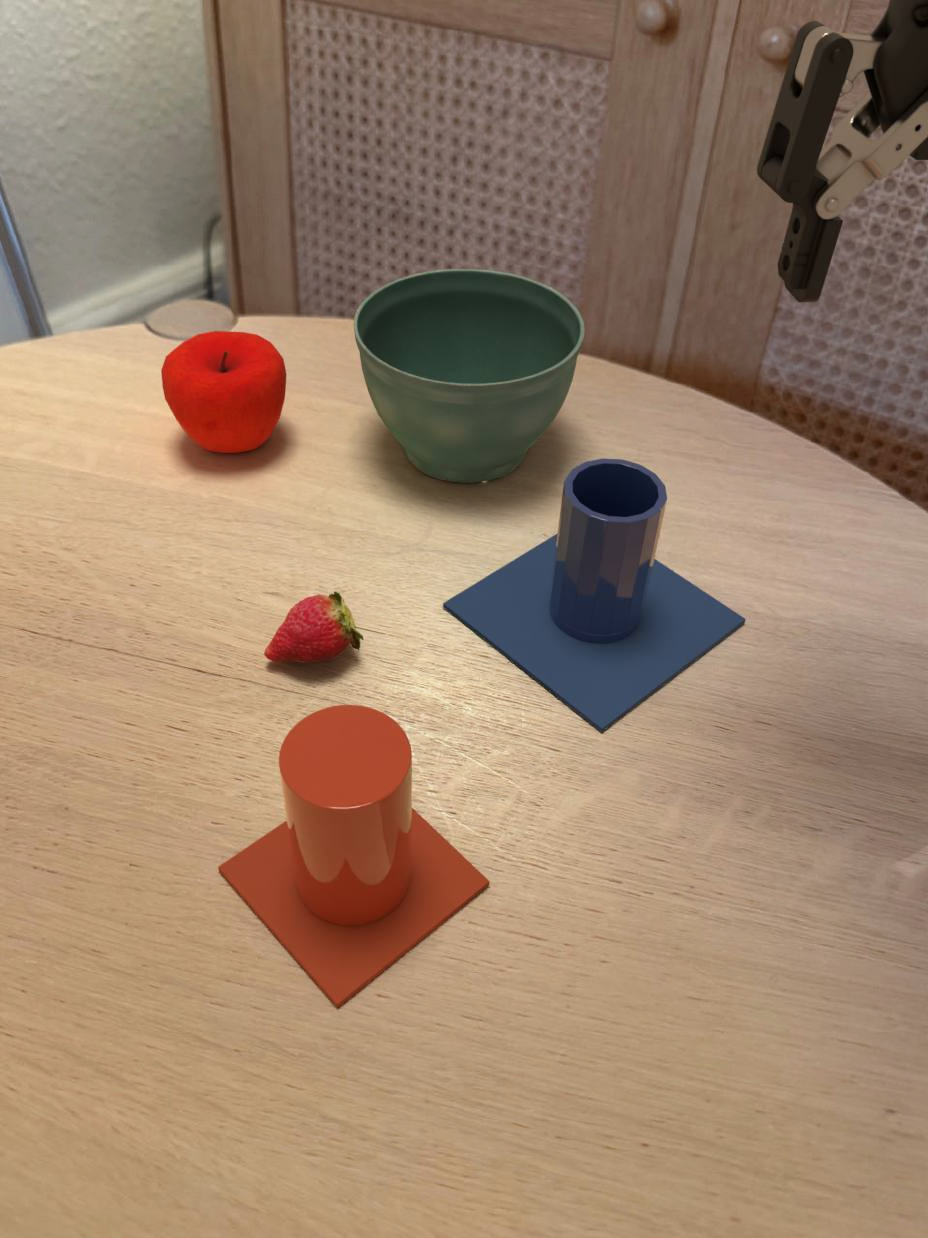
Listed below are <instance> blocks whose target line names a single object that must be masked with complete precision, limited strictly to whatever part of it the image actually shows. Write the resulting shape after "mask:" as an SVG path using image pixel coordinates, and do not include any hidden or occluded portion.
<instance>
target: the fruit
mask: <svg viewBox="0 0 928 1238" xmlns="http://www.w3.org/2000/svg"><path fill="white" fill-rule="evenodd" d="M361 641H364V635H362V634H361V632H360V631H359V630H358V629H357V626H356V624H355V619H354V617H353V613H352V612H351V609H350V608H349V607H348V606H347V604H346V603H345V599H343V596H341V593H340V592H337V591H333V593H331V594H329V595H325V594H315V595H312V596H306V597H305V598H302V600H300V601H299V602H297V603H296V604H295V605H294V606H292V607H291V608H290V609H289V611H288V613H287V614H286V616H285V619H284V621H283V622H282V624H281V625H279V626H278V628H277V630H276V632H275V634H274V635H273V637H272V638H271V641H270V642H269V644H268V645H267V646H266V648H265V649H264V653H263V655H264V657H265V658H266V659H267V660H269V661H271V662H273V663H281V662H283V663H284V662H287V663H291V662H297V663H305V664H312V663H320V662H321V663H322V662H329V661H333V660H334V659H335V658H337V657H339V656H340V655H342V654H343V653H344V652H345V651H346V650H347V649H348V648H349V646H351V648H353V649H354V650H357V651H360V648H361Z"/></svg>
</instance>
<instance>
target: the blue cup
mask: <svg viewBox="0 0 928 1238" xmlns="http://www.w3.org/2000/svg"><path fill="white" fill-rule="evenodd" d="M667 501H668V493H667V487H666V485H665V483H664V482H663V481H662V480H661V478H659V476H658V475H657V474H656V472H654V471H652V470H650V469H649V468H647V467H646V466H644V465H642V464H640V463H637V462H633V461H629V460H626V459H622V458H597V459H592V460H588V461H584V462H582V463H580V464H579V465H577V466H575V467H573V468H572V469H571V470H570V471H569V473H568V474H567V476H566V477H565V479H564V481H563V487H562V495H561V503H560V511H559V518H558V527H557V533H558V534H557V533H556V534H557V542H556V550H555V558H554V566H553V574H552V582H551V590H550V603H549V610H550V614H551V617H552V619H553V621H554V622H555V624H556V625H557V626H558V627H559V628H560V629H561V630H562V631H564V632H565V633H567V634H568V635H570V636H572V637H574V638H576V639H579V640H582V641H586V642H591V643H610V642H615V641H618V640H621V639H623V638H625V637H627V636H629V635H630V634H631V633H633V632H634V630H635V629H636V628H637V627H638V625H639V623H640V620H641V615H642V612H643V610H644V605H645V600H646V596H647V591H648V586H649V582H650V577H651V572H652V568H653V563H654V559H656V558H655V557H656V554H657V548H658V544H659V538H660V534H661V529H662V525H663V520H664V515H665V511H666V507H667Z"/></svg>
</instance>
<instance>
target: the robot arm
mask: <svg viewBox="0 0 928 1238" xmlns="http://www.w3.org/2000/svg"><path fill="white" fill-rule="evenodd" d="M862 73H863V74H864V78H865V80H866V83H867V88H868V91H867V92H866V93H865V94H864V95H863V97H862V98H861V99H860V100H859V101H857V102H856V104H855V105H854V106H853V107H852V108H851V109H850V110H849V111H848V112H847V113H846V114H845V115H844V116H843V117H842V118H841V119H840V120H839V121H838V122H837V124H836V125H835V126H834V127H833V128H832V130H831V133H830V139H829V141H828V142H827V144H826V145H824V144H825V140H826V138H827V135H828V132H829V129H830V125H831V123H832V120H833V117H834V114H835V111H836V109H837V105H838V102H839V99H840V98H841V97H843V96H845V95H847V94H850V93H851V92H852V90H853V88H854V82H855V80H856V79H857V77H858V76H859V75H860V74H862ZM778 92H779V93H778V94H777V95H778V96H777V99H776V102H775V106H774V108H773V113H772V115H771V118H770V122H769V125H768V129H767V131H766V136H765V139H764V142H763V145H762V149H761V152H760V156H759V158H758V159H759V160H758V161H757V166H756V173H757V176H758V178H759V179H760V180H761V181H762V182H763V183H765V185H767V186H768V187H769V188H770V189H771V190H772V191H773V192H774V193H775V194H776V195H777V196H778V197H779V198H780V199H781V200H782V201H783V202H785V203H787V204H792V209H791V212H790V217H789V220H788V224H787V228H786V231H785V235H784V239H783V242H782V246H781V251H780V253H779V257H778V260H777V273H778V276H779V278H781V279H782V281H783V283H784V284H783V285H784V288H785V290H786V291H788V293H789V294H790V295H792V297H793V298H794V299H795V300H796V301H797V303H817V302H818V301H819V299H820V297H821V295H822V292H823V288H824V285H825V282H826V278H827V275H828V272H829V269H830V266H831V262H832V260H833V255H834V253H835V249H836V245H837V242H838V240H839V237H840V234H841V230H842V227H843V223H844V220H843V219H842V218H841V217H840V216H839V215H840V214H841V213H842V212H843V211H844V210H845V209H846V208H847V207H848V206H850V204H851V203H852V202H853V201H854V200H855V199H856V198H857V197H859V195H860V194H861V193H862V192H863V191H864V190H865V189H866V188H868V186H869V185H870V184H872V183H873V182H874V181H880V180H883V179H885V178H887V177H888V176H890V175H891V174H892V173H893V172H894V171H895V170H896V169H897V168H898V167H899V166H900V165H901V164H902V163H903V162H904V161H905V160H906V159H908V157H909V156H910V157H911V158H913V159H914V160H915V161H928V0H889V1H888V5H887V8H886V10H885V12H884V14H883V16H882V18H881V19H880V21H879V22H878V24H877V26H876V27H875V28H874V29H873V30H872V32H871V33H870V34H869V35H867V34H859V33H848V32H841V31H836V30H833V29H832V28H830V27H829V26H826V25H825V24H824V23H822V22H821V21H818V20H810V21H808V22H806V23H805V24H803V25H802V26H801V27H800V28H799V30H798V32H797V33H796V36H795V39H794V42H793V46H792V49H791V52H790V56H789V59H788V62H787V66H786V68H785V73H784V75H783V79H782V82H781V86H780V88H779V91H778ZM879 127H880V128H881V131H882V133H883V134H882V135H880V136H879V137H877V138H874V139H870V137H871V136H872V134H873V133H874V132H876V130H877V129H878V128H879ZM823 146H824V147H823Z"/></svg>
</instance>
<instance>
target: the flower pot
mask: <svg viewBox="0 0 928 1238" xmlns="http://www.w3.org/2000/svg"><path fill="white" fill-rule="evenodd" d="M353 318H354V319H353V331H354V339H355V343H356V347H357V349H358V351H359V359H360V365H361V370H362V375H363V378H364V379H363V380H364V383H365V386H366V389H367V392H368V394H369V397H370V400H371V401H372V402H371V403H372V404H373V406H374V408H375V410H376V413H377V414H378V416H379V418H380V419H381V421H382V423H383V424H384V426H385V427H386V429H387V430H388V431H389V432H390V434H391V435H392V436H393V437H394V438H395V440H396V441H398V442H399V443H400V444H401V446H402V449H403V452H404V455H405V456H406V458H407V460H408V461H409V463H410V464H411V465H413V467H415V468H416V469H417V470H418V471H420V472H421V473H423V474H425V475H427V476H430V477H432V478H434V479H437V480H441V481H447V482H452V483H461V484H473V483H481V482H482V483H484V482H487V481H492V480H495V479H499V478H501V477H503V476H505V475H508V474H509V473H511V472H512V471H514V470H515V469H517V468H518V467H519V466H520V464H521V463H522V462H523V461H524V459H525V458H526V457H525V456H526V455H527V451H528V450H529V449H530V448H531V447H532V446H533V445H534V444H535V443H536V442H537V441H538V440H539V439H540V438H541V437H542V436H543V435H544V434H545V433H546V431H547V430H548V429H549V428H550V426H551V425H552V423H554V421H555V419H556V418H557V416H558V414H559V413H560V411H561V409H562V408H563V405H564V403H565V401H566V399H567V396H568V394H569V392H570V389H571V386H572V382H573V379H574V375H575V371H576V367H577V361H578V356H579V354H580V352H581V350H582V345H583V342H584V337H585V322H584V320H583V319H584V318H583V316H582V315H581V313H580V311H579V310H578V308H577V307H576V306H575V305H574V304H573V302H571V301H570V300H569V298H567V297H566V296H565V295H563V294H562V293H561V292H559V291H558V290H556V289H554V288H552V287H550V286H548V285H546V284H544V283H541V282H539V281H537V280H534V279H532V278H529V277H526V276H522V275H518V274H514V273H509V272H502V271H495V270H489V269H478V268H477V269H475V268H448V269H447V268H446V269H436V270H429V271H423V272H418V273H414V274H409V275H406V276H404V277H401V278H397V279H395V280H392V281H390V282H388V283H386V284H384V285H383V286H381V287H378V289H376V290H375V289H374V291H373V292H371V293H370V294H369V295H368V296H367V297H366V298H365V299H363V301H362V302H361V303H360V305H359V306H358V308H357V310H356V311H355V314H354V317H353Z"/></svg>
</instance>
